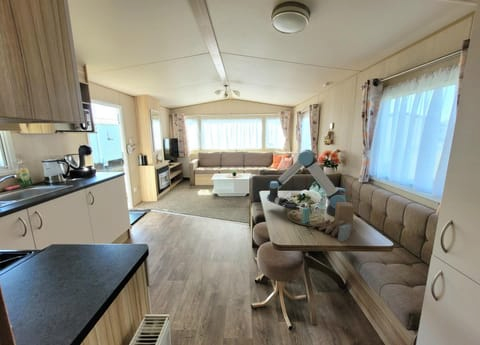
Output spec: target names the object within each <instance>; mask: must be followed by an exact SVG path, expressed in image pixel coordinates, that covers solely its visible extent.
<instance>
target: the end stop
mask: <svg viewBox="0 0 480 345" xmlns="http://www.w3.org/2000/svg"><path fill="white" fill-rule="evenodd" d="M350 228H351V224H349V223H345V224H343V225H341V226H339V234H338V235H337V241H339V242H345V241H347V240H348V239H349V238H350V235H351V233H350Z"/></svg>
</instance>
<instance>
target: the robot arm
mask: <svg viewBox="0 0 480 345" xmlns="http://www.w3.org/2000/svg"><path fill="white" fill-rule="evenodd" d="M318 162H319V161H318V159H317V158H316V157H315V153H314V152H313V150H311V149H304V150H303V151H301V152H299V154H298V156H297V159H296V160H295V162H294V163H293V164H292V165H290V167H289V168H288V169H286V171H284V172H283V173H282V174H281V175H280V176H279V177H278V178H277V179H276V180H275V181H274V180H272V181H270V183H269V193H268V194H267V196H266V199H267V201H268V202H269V203H272V204H274V205H277V206H280V207H282V208H286V209H290V210H294V211H297V210H298V211H300V212H302V213H303V209H304V208H305V207H302V206H300V204H298V203H296V202H295V201H292V200H291V201H290V200H288V199H287V198H286V197H285V198H284V197H282V196H280V195H279V189H281V187H283V186H284V185H285V184H286V183H287V182H289V180H290V179H291V178H292V177H293V176H294V175H296V173H298V171H300V169H302V168H304V169H305V170H308V171H309V173H310V174H311V175H312V177H313V178H314V179H315V181H316V182H317V184H318V185H319V186H320V188H321V189H322V191H323V192H324V193H325V197H326V199H327V200H328V205H327V207H326V211H325V213H327V214H328V215H330V216H332V217H333V216H334V217H335V209H336V202H347V199H346V191H347V190H346V189H345V188H344V187H343V188H342V187H337V186H336V187H335V184H333V182H332V181H331V180H330V178H329V177H328V176H327V174H326V173H325V171H323V169H322V168H321V166H320V165H319V163H318Z"/></svg>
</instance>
